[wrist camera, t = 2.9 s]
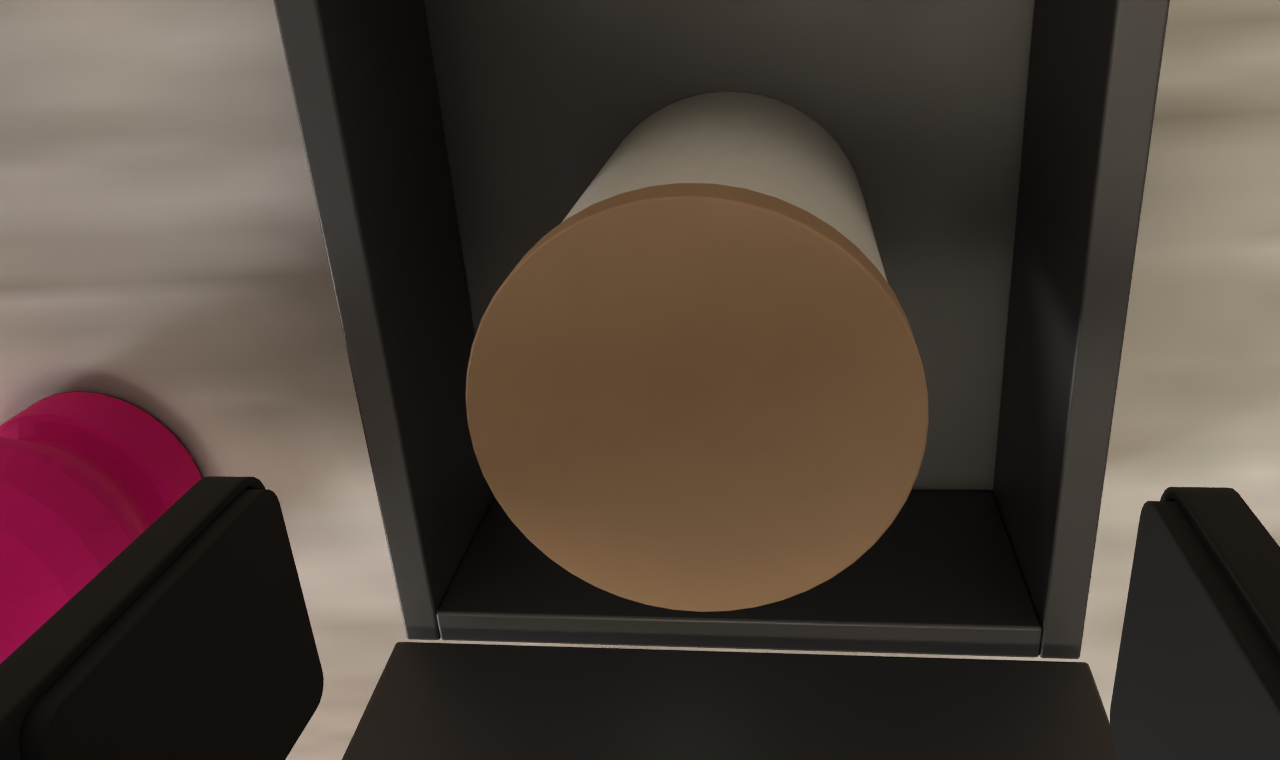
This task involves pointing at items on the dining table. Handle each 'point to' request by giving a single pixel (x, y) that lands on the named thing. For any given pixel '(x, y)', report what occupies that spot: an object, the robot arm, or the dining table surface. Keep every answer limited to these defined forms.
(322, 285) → the dining table surface
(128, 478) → the pepper mill
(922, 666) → the lid
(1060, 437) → the dark grey open box
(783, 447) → the canister
